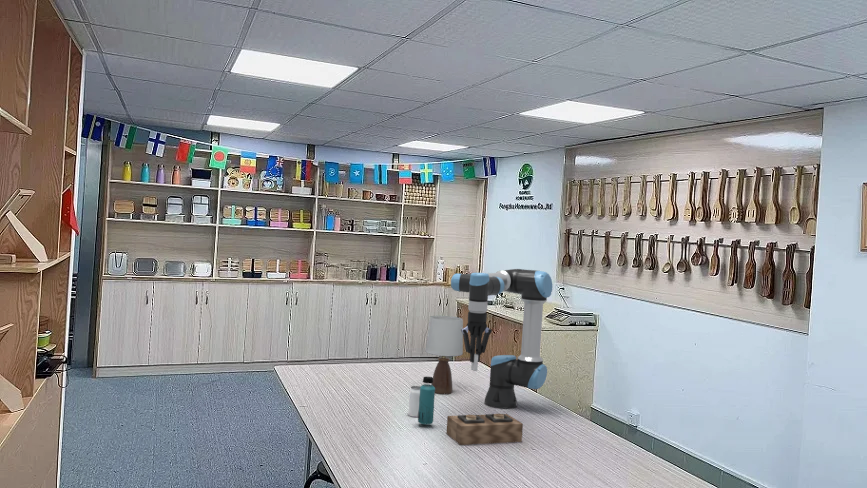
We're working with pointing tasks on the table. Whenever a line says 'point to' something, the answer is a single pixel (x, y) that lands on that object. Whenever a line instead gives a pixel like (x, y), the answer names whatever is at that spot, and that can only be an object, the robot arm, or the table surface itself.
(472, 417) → the peg
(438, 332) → the lamp
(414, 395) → the can
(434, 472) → the table surface
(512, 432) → the walnut block
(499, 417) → the peg
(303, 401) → the table surface
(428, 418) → the beverage bottle
